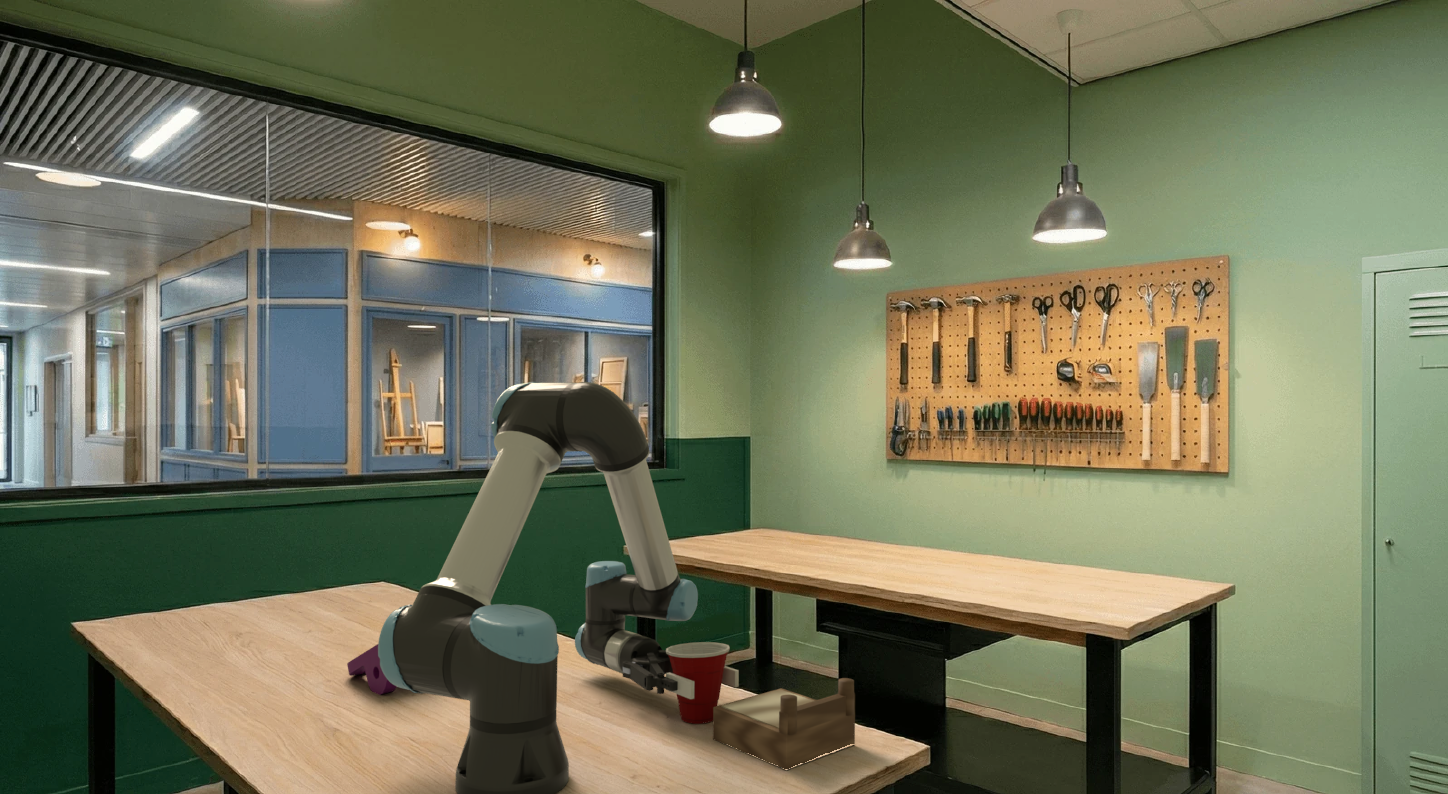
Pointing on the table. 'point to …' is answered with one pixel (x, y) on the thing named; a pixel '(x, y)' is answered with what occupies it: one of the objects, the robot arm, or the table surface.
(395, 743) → the table surface
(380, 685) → the mounting bracket
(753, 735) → the walnut stand
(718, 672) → the plastic cup
